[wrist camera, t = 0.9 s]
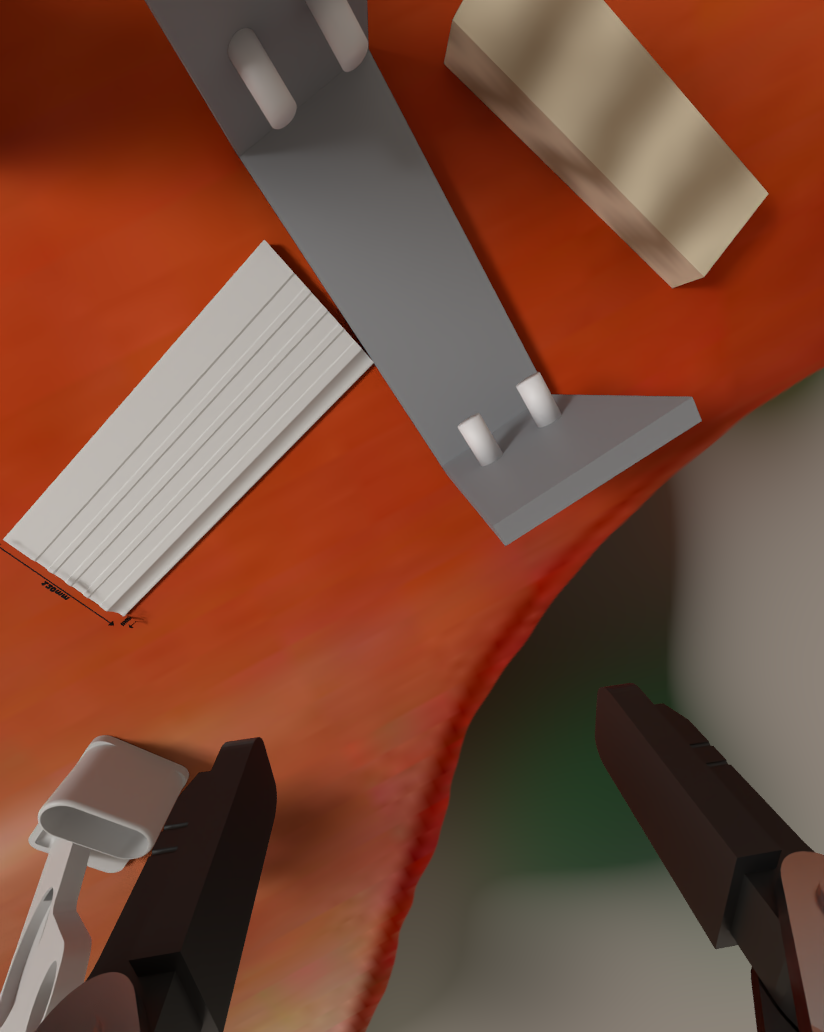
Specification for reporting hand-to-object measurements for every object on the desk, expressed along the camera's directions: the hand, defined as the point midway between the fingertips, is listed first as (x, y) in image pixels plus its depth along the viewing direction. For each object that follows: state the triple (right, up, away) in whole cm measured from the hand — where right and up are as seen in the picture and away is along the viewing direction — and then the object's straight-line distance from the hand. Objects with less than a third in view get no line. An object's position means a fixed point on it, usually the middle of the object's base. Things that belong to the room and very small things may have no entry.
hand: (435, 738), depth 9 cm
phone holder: (-32, -25, +32) cm, 52 cm away
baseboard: (-18, +10, +23) cm, 31 cm away
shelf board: (+12, +31, +18) cm, 38 cm away
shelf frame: (-1, +22, +19) cm, 29 cm away
